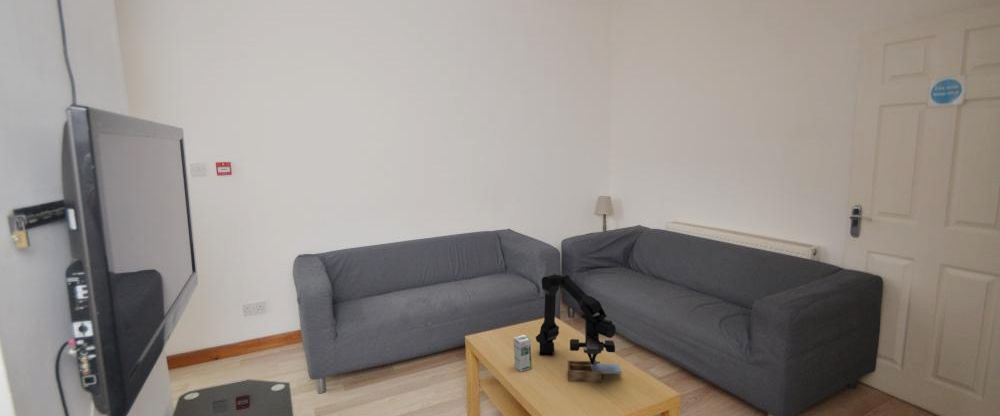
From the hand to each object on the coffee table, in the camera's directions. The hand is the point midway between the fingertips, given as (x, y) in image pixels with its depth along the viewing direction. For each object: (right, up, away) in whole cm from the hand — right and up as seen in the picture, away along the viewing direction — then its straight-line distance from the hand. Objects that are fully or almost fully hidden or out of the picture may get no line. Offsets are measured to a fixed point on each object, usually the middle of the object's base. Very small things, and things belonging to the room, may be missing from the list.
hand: (592, 364), depth 192 cm
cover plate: (+6, -2, 0) cm, 6 cm away
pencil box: (-3, -6, +2) cm, 7 cm away
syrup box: (-29, -6, +10) cm, 32 cm away
